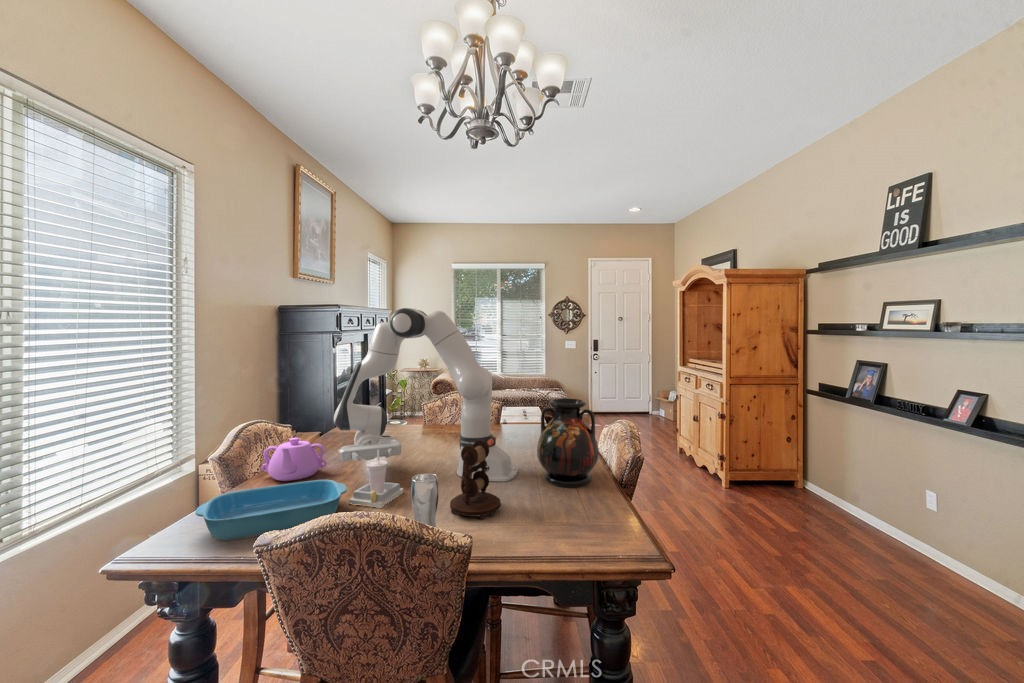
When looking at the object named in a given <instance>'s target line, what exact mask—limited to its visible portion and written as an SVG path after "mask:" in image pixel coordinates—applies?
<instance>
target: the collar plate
mask: <svg viewBox="0 0 1024 683" xmlns="http://www.w3.org/2000/svg"><path fill="white" fill-rule="evenodd" d="M400 486H401V484H400V483H397V482H396V483H395V482H389V481H388V482H386V481H385V484H384V492H383V493H376V491H371V490H370V482H368V483H366V484H365V485H363V486H360V487H359V488H357V489H356V490H354V491H353V496H352V497H351V498H350V499H349V500H348V503H352V504H361V505H370V506H373V507H377V508H376V509H380V508H381V509H383V508H382V506H383V505H385V504H387V503H388V504H390V503H391V502H392V500H393V499H394V500H396V499H397V498H398V497H400V496H401V495H403V494H404V493H403V492H404V488H402V487H400ZM402 493H403V494H402ZM400 494H401V495H400ZM399 495H400V496H399ZM396 497H397V498H396ZM395 498H396V499H395ZM394 500H393V501H394ZM390 501H391V502H390ZM389 502H390V503H389ZM388 504H387V505H388ZM385 506H386V505H385Z"/></svg>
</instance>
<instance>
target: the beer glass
mask: <svg viewBox="0 0 1024 683" xmlns="http://www.w3.org/2000/svg"><path fill="white" fill-rule="evenodd" d="M438 478H439V477H438V475H437V474H434V473H419V474H415V475H414V476H412V477H411V488H410V500H411V506H412V508H411V509H412V511H413V513H412V514H413V518H414V521H415V520H416V521H419V522H422V523H424V524H427V525H430V526H433V527H436V528H437V525H436V524H437V523H436V522H437V521H436V519H437V510H438V503H439V497H440V496H439V492H440V491H439V479H438Z"/></svg>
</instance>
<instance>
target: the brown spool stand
mask: <svg viewBox="0 0 1024 683" xmlns="http://www.w3.org/2000/svg"><path fill="white" fill-rule="evenodd" d="M460 451H461V450H460ZM488 454H489V447H488V445H487V443H486V442H484V441H482V440H478V441H476V442H475V443H474V444H473V446H470V445H467V446H465V447H463V449H462V451H461V458H462V460H463V472H462V477H461V479H460V480H461V482H460V489H461V494H458V495H456V496H455V497H453V498H452V499H451V500H450V502H449V509H450V511H451V514H453V515H454V514H457V515H460V516H465V517H466V516H467V517H479V518H480V520H481V521H483V519H484V518H485V516H487V515H490V514H493V513H495V512H497V511H499V509H501V505H502V504H501V501H502V500H501V499H500V498H499V497H498V496H497V495H495V494H493V493H490V492H487V491H486V490H487V488H488V487H489V485H490V481H489V478H488V476H487V474H486V472H485V468H486V466H487V462H486V461H485V459H486V457H487V456H488ZM478 463H479V464H478ZM476 464H478V465H476ZM475 465H476V466H475ZM479 468H481V469H482V470H481V471H477V470H478V469H479ZM475 471H477V472H475ZM473 472H475V473H474V475H473V479H472V473H473Z"/></svg>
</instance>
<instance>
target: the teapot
mask: <svg viewBox="0 0 1024 683" xmlns="http://www.w3.org/2000/svg"><path fill="white" fill-rule="evenodd" d="M315 447H316V448H319V449H320V455H319V454H318V451H317V450H316V449H315ZM271 450H274V452H273V453H272V455H271V457H270V458H269V456H268V455H269V454H268V452H269V451H271ZM324 455H325V447H324V445H322V444H321V443H313V444H312V443H311V442H310V441H308V440H300V437H290V438H289V439H288V441H286V442H282V443H281V444H279V445H278V446H275V445H272V446H268V447H267V448H265V450H264V451H263V459H264V462H265V463H263V464H262V465H261V469H260V470H261V471H263V472H266V473H268V474H269V476H270V477H271V478H272V479H273V480H276V481H284V482H288V481H296V480H304V479H306V478H310V477H312V476H314V475H315V474H316V473H317V472H318V470H319V469H323V468H325V467H327V465H328V462H327V459H323V458H324ZM322 463H323V464H322ZM303 478H304V479H303Z"/></svg>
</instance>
